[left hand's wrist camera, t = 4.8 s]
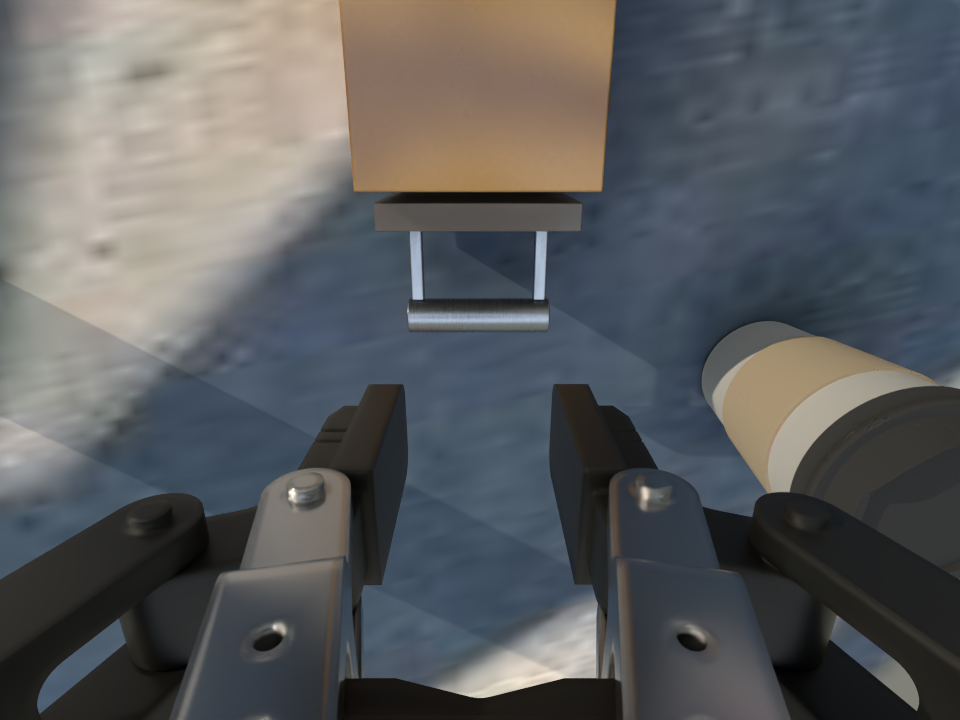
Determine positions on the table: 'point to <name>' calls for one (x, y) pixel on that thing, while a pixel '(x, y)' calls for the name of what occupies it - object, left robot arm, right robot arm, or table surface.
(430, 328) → the drawer
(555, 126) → the wooden drawer box
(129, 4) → the table surface
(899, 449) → the coffee cup
